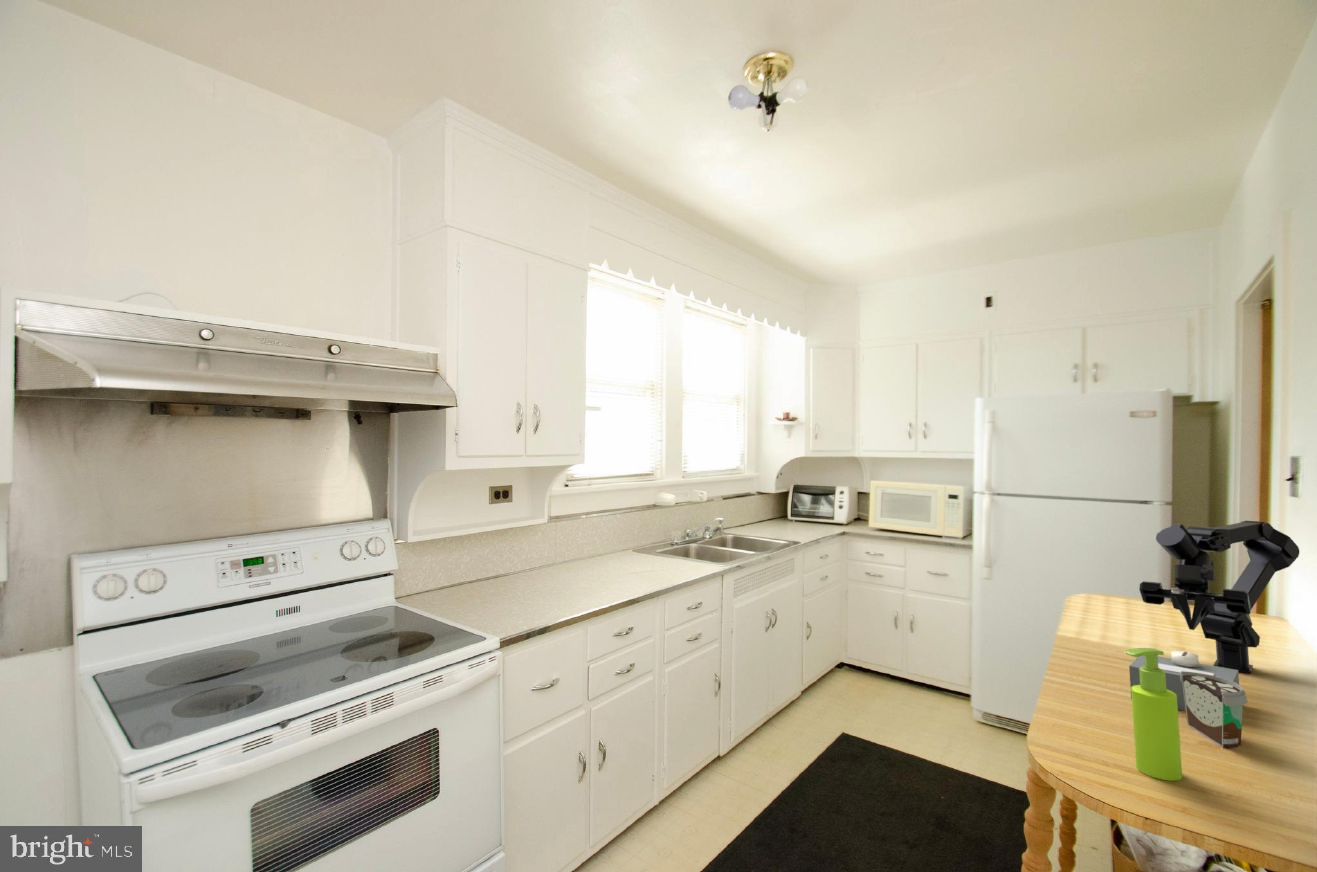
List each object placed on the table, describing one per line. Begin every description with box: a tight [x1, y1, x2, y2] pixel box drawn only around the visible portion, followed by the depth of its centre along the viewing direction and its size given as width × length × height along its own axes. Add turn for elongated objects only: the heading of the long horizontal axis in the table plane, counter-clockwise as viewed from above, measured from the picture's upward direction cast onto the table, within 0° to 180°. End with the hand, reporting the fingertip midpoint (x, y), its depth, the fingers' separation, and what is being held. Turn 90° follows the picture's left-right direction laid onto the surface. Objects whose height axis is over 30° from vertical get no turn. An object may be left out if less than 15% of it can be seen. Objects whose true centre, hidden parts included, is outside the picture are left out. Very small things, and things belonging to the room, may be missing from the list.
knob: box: [1170, 650, 1200, 667], centre depth 129 cm, size 4×4×6 cm
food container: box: [1180, 671, 1249, 749], centre depth 110 cm, size 12×6×10 cm, turn 168°
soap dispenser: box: [1124, 647, 1183, 782], centre depth 99 cm, size 6×7×20 cm
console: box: [1128, 655, 1240, 712], centre depth 126 cm, size 12×16×7 cm
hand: (1191, 628), depth 134 cm, fingers closed
